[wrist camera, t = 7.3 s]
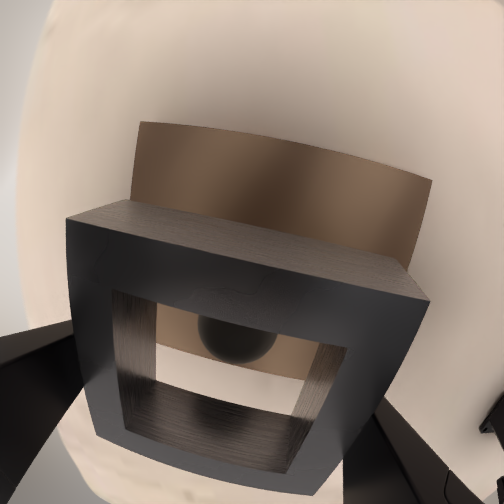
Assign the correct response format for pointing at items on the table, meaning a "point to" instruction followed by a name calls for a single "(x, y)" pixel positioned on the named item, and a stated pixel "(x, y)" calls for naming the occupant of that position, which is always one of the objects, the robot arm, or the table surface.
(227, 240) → the metal link
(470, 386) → the table surface
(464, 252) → the table surface
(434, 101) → the table surface
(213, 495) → the table surface
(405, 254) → the square knob plate
